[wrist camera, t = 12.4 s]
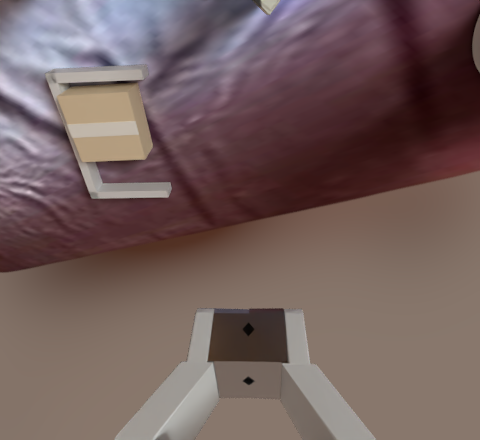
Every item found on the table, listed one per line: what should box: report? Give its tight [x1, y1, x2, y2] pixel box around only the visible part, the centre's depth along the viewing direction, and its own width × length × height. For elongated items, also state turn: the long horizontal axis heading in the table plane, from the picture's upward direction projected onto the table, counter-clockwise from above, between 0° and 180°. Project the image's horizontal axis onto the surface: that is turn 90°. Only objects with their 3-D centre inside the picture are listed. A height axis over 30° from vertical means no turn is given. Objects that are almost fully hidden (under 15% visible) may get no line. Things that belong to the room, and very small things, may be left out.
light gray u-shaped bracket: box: [45, 65, 172, 199], centre depth 47 cm, size 12×18×2 cm, turn 3°
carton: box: [57, 82, 153, 162], centre depth 45 cm, size 9×9×5 cm
